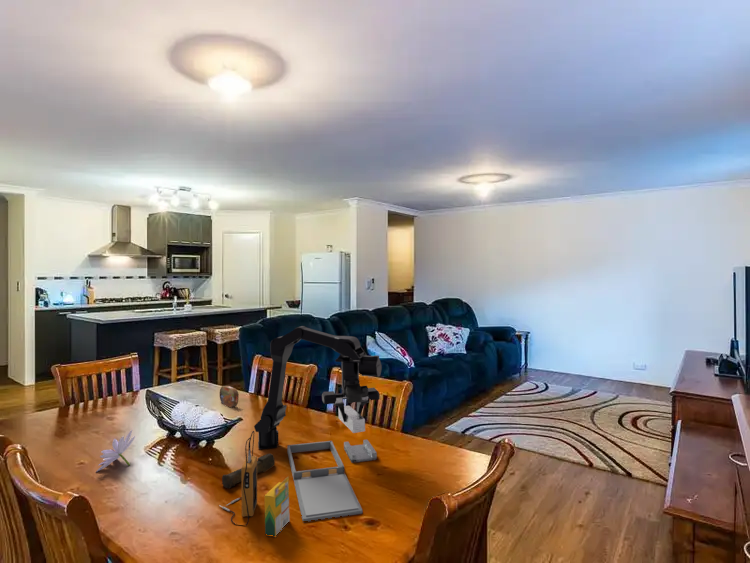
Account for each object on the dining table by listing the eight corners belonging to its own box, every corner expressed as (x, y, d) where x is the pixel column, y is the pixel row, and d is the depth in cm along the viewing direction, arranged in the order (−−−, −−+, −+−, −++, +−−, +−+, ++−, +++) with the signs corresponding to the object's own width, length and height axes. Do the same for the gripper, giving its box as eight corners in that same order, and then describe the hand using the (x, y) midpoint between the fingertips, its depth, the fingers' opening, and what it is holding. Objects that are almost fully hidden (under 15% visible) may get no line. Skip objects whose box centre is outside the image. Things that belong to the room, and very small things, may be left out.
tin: (219, 402, 218) (218, 384, 217) (225, 400, 220) (225, 383, 219) (233, 409, 206) (233, 390, 206) (239, 407, 209) (239, 389, 208)
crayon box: (279, 519, 116) (278, 474, 116) (289, 521, 115) (289, 475, 115) (264, 535, 109) (263, 487, 109) (275, 537, 108) (275, 489, 108)
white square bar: (353, 433, 146) (353, 420, 146) (338, 418, 161) (338, 406, 161) (365, 431, 148) (364, 418, 148) (349, 416, 163) (349, 405, 163)
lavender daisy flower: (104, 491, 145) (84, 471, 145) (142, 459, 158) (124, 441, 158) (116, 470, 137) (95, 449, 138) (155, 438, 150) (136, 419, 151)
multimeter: (223, 497, 127) (222, 426, 126) (259, 496, 128) (259, 425, 127) (208, 527, 112) (207, 447, 112) (249, 526, 113) (249, 445, 113)
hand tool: (229, 491, 131) (229, 475, 131) (221, 487, 134) (221, 471, 134) (280, 468, 147) (280, 453, 146) (271, 465, 149) (271, 450, 149)
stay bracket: (351, 462, 150) (351, 455, 150) (344, 448, 161) (344, 442, 161) (376, 459, 152) (376, 452, 152) (367, 446, 164) (367, 439, 164)
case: (302, 522, 115) (302, 512, 115) (287, 452, 158) (287, 445, 158) (362, 513, 119) (362, 503, 119) (331, 447, 162) (331, 440, 162)
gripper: (326, 382, 144) (327, 432, 144) (383, 378, 149) (384, 426, 149) (321, 375, 155) (322, 421, 155) (374, 371, 160) (375, 415, 160)
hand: (351, 421), depth 155 cm, fingers closed on white square bar, 4 cm apart
